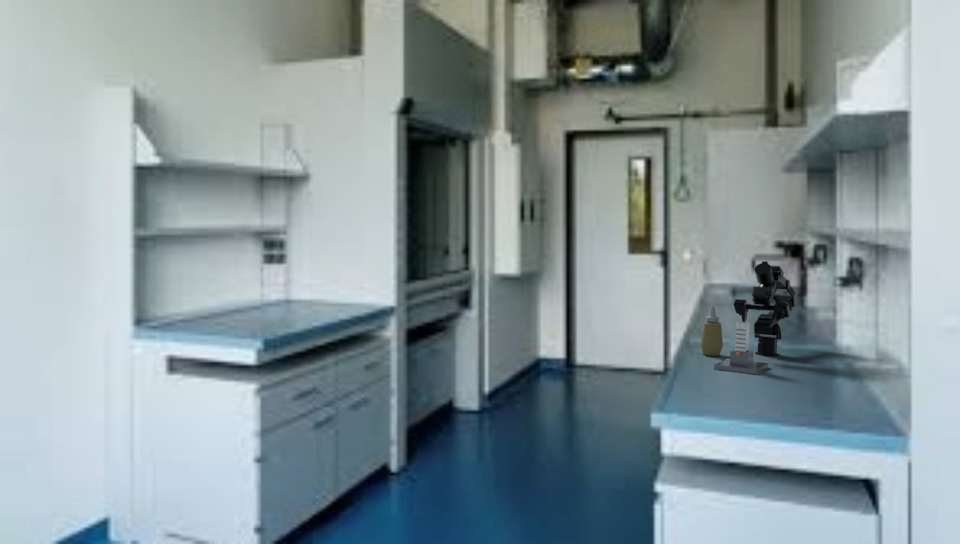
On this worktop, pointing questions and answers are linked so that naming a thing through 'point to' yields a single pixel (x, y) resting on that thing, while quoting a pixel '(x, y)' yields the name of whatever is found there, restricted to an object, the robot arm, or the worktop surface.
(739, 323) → the block
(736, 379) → the worktop surface
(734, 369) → the stand
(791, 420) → the worktop surface
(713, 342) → the squeeze bottle
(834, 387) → the worktop surface
